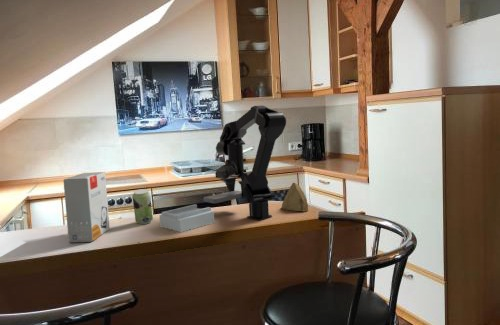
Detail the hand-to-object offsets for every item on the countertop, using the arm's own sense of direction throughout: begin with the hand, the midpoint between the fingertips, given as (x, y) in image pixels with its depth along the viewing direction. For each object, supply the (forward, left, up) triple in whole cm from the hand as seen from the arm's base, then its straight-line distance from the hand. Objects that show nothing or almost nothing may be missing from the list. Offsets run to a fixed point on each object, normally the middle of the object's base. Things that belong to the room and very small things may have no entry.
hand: (237, 197), depth 159 cm
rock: (-17, -13, -6) cm, 22 cm away
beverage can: (+15, +32, -5) cm, 36 cm away
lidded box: (0, +24, -5) cm, 25 cm away
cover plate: (0, +6, +1) cm, 6 cm away
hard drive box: (+16, +51, -5) cm, 54 cm away
